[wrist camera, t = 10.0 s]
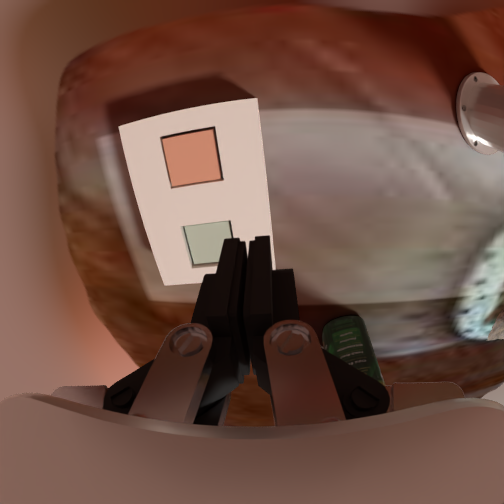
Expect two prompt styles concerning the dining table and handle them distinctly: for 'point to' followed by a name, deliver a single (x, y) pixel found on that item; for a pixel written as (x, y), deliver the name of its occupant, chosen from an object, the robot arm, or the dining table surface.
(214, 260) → the sage button
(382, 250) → the dining table surface
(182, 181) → the terracotta button
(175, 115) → the button panel
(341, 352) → the coffee jar
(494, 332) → the cherub figurine
